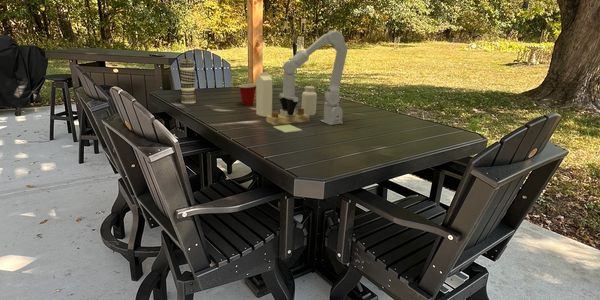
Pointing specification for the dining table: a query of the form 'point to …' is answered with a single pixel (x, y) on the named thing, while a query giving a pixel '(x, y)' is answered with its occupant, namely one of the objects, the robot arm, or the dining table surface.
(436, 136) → the dining table surface
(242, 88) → the plastic cup
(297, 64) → the robot arm
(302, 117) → the plane body
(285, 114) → the lever cap
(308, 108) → the pill bottle
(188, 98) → the decorative candle
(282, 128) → the rubber mat
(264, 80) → the milk
